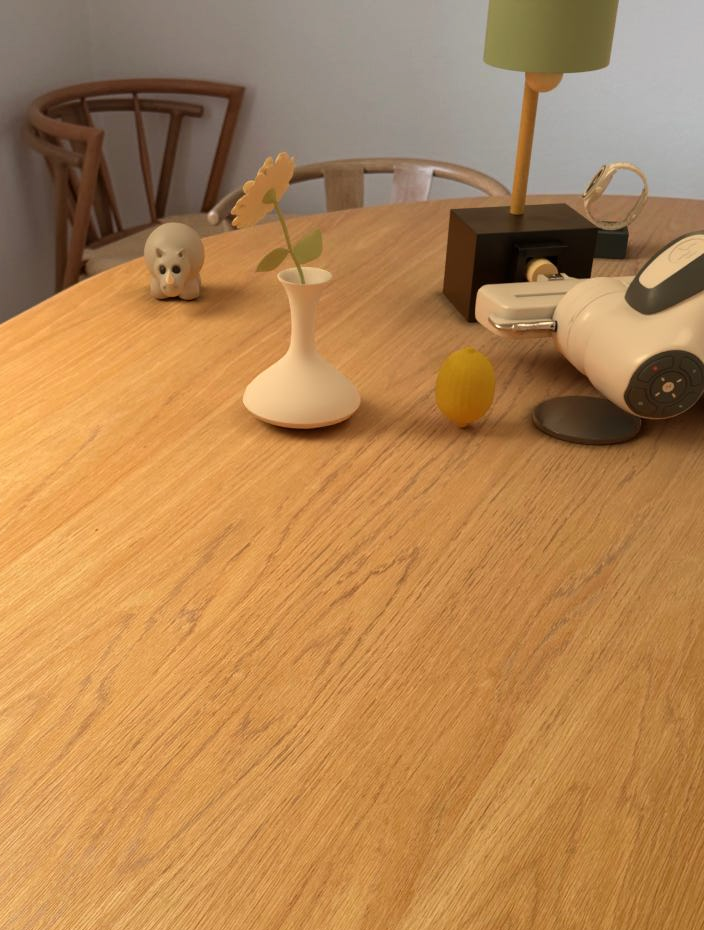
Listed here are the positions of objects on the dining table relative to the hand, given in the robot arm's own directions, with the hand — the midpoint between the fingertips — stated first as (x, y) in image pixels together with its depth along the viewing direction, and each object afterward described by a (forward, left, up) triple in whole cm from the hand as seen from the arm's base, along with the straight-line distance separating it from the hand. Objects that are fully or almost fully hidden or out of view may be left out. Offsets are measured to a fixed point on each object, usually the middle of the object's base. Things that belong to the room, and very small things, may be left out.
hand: (549, 280), depth 137 cm
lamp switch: (+1, -2, -1) cm, 3 cm away
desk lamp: (+2, -10, -6) cm, 12 cm away
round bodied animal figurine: (+42, -8, -6) cm, 43 cm away
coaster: (-2, +23, -6) cm, 24 cm away
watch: (-12, -31, -6) cm, 33 cm away
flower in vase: (+26, +24, -6) cm, 36 cm away
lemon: (+10, +25, -6) cm, 28 cm away
